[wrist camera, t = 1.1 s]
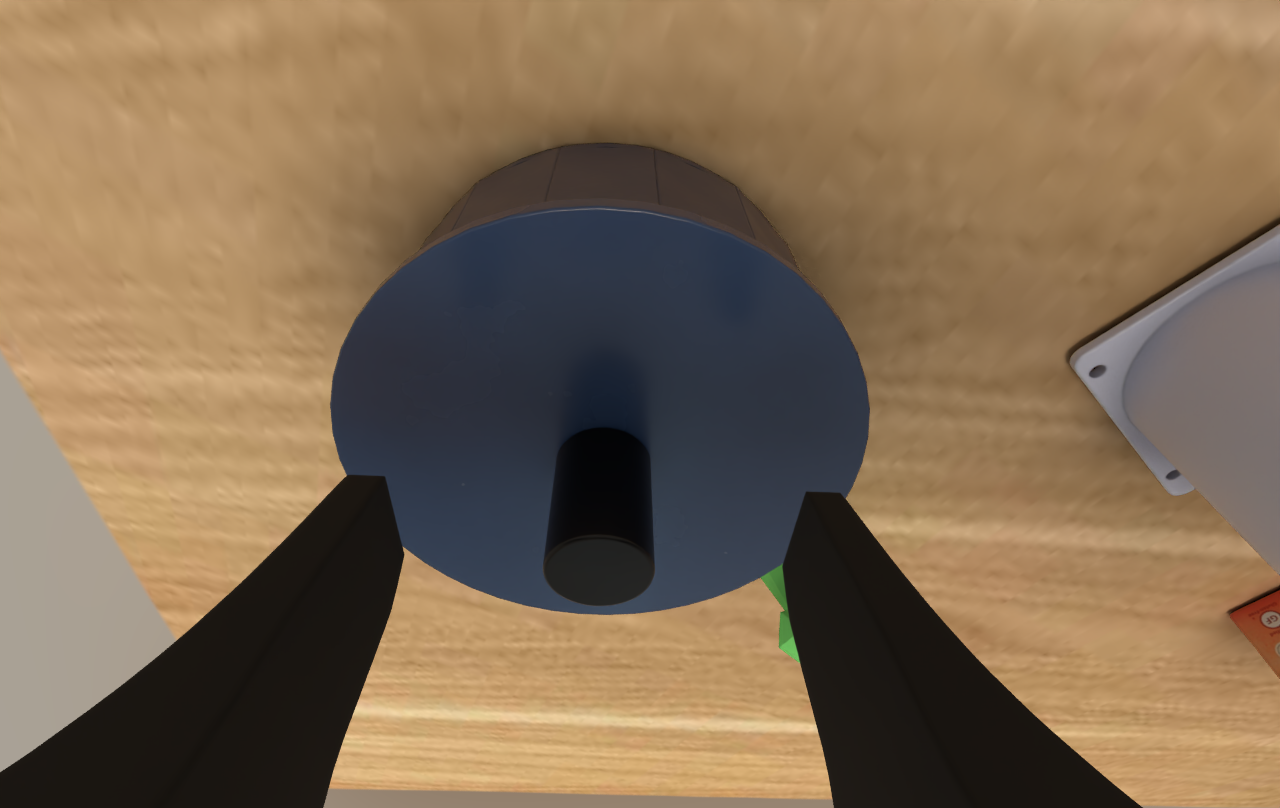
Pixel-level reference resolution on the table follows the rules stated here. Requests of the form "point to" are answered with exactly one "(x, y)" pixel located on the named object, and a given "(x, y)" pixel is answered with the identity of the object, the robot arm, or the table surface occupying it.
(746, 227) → the pan
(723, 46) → the table surface
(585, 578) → the pan lid
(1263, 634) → the cracker box
